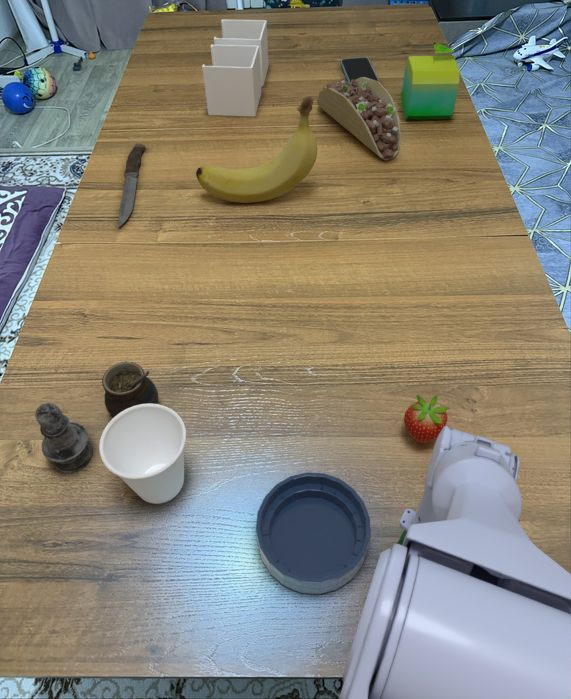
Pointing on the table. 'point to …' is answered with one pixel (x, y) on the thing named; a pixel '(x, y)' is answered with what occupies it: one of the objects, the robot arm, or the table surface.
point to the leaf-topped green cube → (430, 85)
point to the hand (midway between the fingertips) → (424, 565)
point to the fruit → (425, 419)
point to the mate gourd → (127, 387)
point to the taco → (364, 113)
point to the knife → (130, 182)
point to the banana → (267, 168)
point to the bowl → (313, 532)
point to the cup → (146, 450)
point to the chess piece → (63, 439)
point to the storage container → (237, 68)
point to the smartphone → (358, 68)
